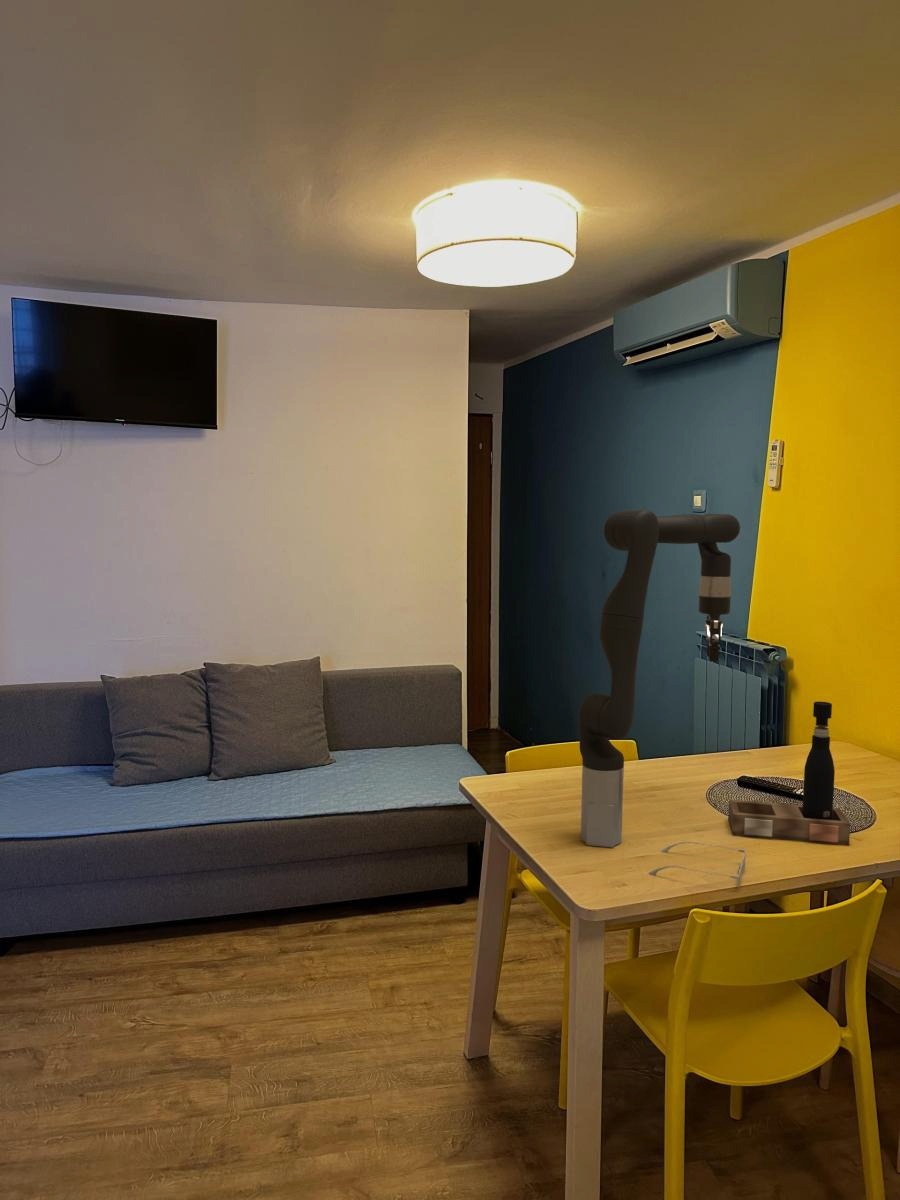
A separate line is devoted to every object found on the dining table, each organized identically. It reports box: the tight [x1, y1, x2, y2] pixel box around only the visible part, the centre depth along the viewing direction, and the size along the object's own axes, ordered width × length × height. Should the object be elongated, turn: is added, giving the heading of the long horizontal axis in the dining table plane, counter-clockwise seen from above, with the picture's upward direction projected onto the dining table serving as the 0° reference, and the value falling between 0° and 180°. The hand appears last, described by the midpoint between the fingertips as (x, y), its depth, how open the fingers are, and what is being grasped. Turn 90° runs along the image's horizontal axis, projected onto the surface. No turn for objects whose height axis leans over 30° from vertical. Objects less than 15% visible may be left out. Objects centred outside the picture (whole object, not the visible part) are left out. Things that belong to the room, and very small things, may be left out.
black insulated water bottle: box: [802, 701, 835, 820], centre depth 198 cm, size 6×6×30 cm
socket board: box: [727, 799, 851, 846], centre depth 200 cm, size 25×12×5 cm, turn 77°
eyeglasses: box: [647, 841, 747, 889], centre depth 178 cm, size 15×18×4 cm
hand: (712, 658), depth 215 cm, fingers open, 8 cm apart
